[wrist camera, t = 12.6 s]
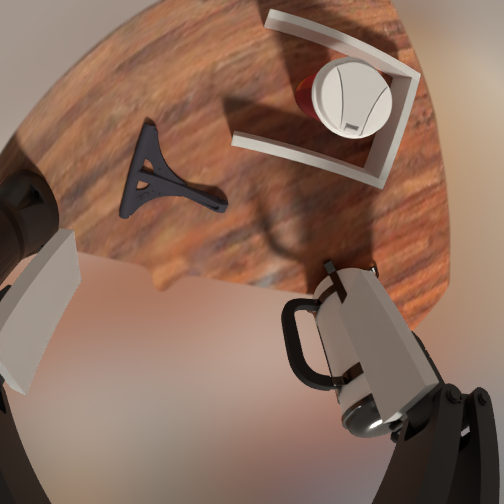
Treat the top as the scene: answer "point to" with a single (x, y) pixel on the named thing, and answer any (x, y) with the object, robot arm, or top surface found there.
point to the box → (384, 138)
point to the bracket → (158, 179)
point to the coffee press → (336, 355)
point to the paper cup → (346, 97)
